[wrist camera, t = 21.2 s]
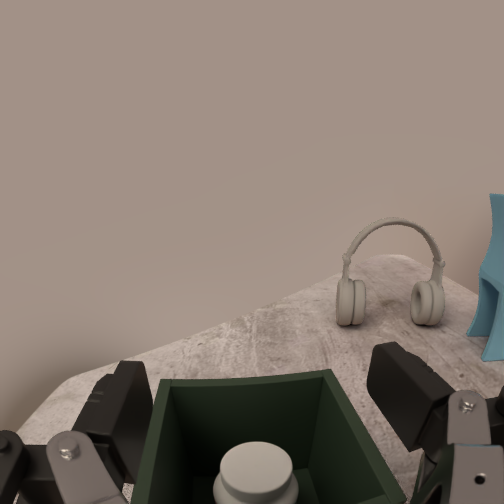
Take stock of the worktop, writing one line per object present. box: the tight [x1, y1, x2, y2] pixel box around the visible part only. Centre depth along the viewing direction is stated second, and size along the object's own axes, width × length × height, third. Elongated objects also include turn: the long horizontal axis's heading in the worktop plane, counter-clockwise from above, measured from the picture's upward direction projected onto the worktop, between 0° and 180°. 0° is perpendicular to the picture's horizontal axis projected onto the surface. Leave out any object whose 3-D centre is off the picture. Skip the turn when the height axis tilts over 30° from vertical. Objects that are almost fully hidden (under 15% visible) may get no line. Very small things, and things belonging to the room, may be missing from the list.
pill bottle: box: [213, 442, 299, 504], centre depth 14 cm, size 5×5×9 cm
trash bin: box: [130, 369, 407, 504], centre depth 14 cm, size 12×12×12 cm
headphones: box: [336, 218, 445, 325], centre depth 47 cm, size 20×8×19 cm, turn 78°
